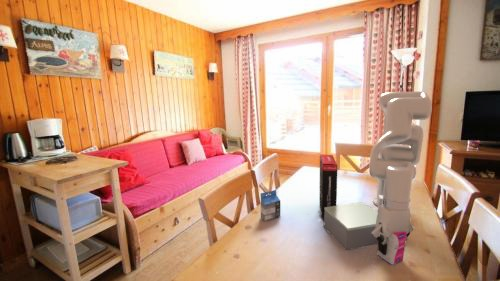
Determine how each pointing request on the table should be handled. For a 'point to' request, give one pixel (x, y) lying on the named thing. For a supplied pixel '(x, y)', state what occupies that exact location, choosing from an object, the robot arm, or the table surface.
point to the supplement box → (394, 248)
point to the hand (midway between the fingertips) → (390, 250)
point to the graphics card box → (327, 182)
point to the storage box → (349, 234)
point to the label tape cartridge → (270, 205)
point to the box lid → (353, 215)
